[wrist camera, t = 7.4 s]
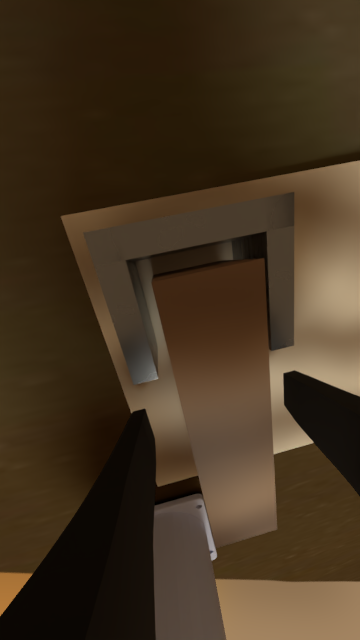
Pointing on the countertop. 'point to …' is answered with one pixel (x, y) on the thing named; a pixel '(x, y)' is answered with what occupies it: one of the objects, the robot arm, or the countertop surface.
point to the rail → (224, 388)
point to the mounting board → (309, 259)
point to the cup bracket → (188, 234)
